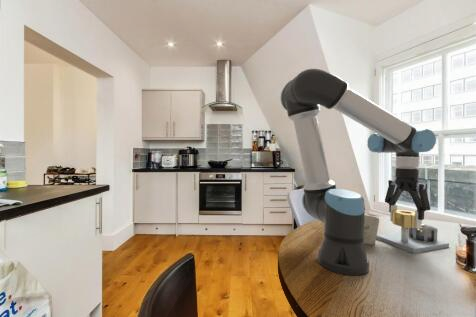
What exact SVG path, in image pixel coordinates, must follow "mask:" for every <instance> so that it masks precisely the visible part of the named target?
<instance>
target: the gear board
mask: <svg viewBox="0 0 476 317" xmlns="http://www.w3.org/2000/svg"><path fill="white" fill-rule="evenodd" d="M400 227H401V226H400ZM400 230H401V231H396V232H389V233H380V234H377V236H376V240H379V241H381V242H384V243H386V244H389V245H391V246H394V247H397V248H399V249H402V250H405V251H407V252H409V253H412V254H417V253H423V252H427V251H428V252H429V251H435V250H438V249H439V250H440V249H445V248H449V247H450V243H449V242H446V241H443V240H440V239H437V240H436V242H425V241H420V240H416V239H413V238H411V237H409V236H408V234H409V228H407V227H401V229H400Z"/></svg>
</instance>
